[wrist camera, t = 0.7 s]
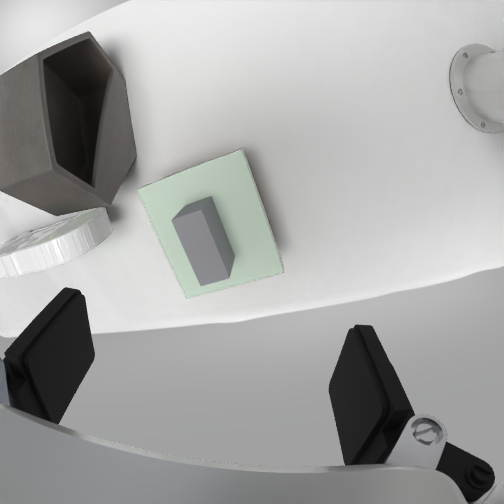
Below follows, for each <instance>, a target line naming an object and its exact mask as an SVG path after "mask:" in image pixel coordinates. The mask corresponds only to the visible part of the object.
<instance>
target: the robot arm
mask: <svg viewBox="0 0 504 504" xmlns="http://www.w3.org/2000/svg"><path fill="white" fill-rule="evenodd" d="M450 82H451V89H452V93H453V97H454V99H455V102H456V104H457V106H458V108H459V110H460V112H461V113H462V115H463V116H464V118H465V119H466V120H467V121H468V122H469V123H470V124H471V125H472V126H474V127H475V128H477V129H479V130H481V131H483V132H488V133H499V132H502V131H504V51H500V52H495V51H494V50H492V49H491V48H489V47H486V46H484V45H477V44H475V45H470V46H467V47H464V48H463V49H461V50H460V51H459V52H458V53H457V54H456V55H455V57H454V59H453V62H452V65H451V70H450ZM4 354H5V356H6V357H5V358H4V359H3V360H2V359H1V358H0V504H504V486H503V485H502V484H501V483H500V482H499V483H498V484H497V485H496V484H495V483H494V480H495V476H494V472H493V469H492V468H491V467H490V465H489V464H488V463H486V462H485V461H483V460H481V459H479V458H477V457H475V456H473V455H471V454H470V453H468V452H466V451H464V450H462V449H460V448H458V447H456V446H454V445H452V444H450V443H448V442H446V440H447V431H446V428H445V426H444V425H443V423H442V422H441V421H440V420H438V419H436V418H435V417H434V416H431V415H428V414H419V415H415V414H414V411H413V409H412V407H411V405H410V402H409V400H408V398H407V396H406V393H405V391H404V389H403V387H402V385H401V382H400V380H399V378H398V376H397V374H396V372H395V370H394V367H393V366H392V364H391V363H390V361H389V359H388V357H387V355H386V353H385V351H384V349H383V347H382V345H381V343H380V341H379V339H378V337H377V335H376V332H375V331H374V329H373V327H372V326H371V325H355V326H354V328H351V329H349V331H348V334H347V336H346V340H345V343H344V345H343V348H342V351H341V354H340V356H339V360H338V362H337V365H336V367H335V370H334V373H333V375H332V378H331V381H330V384H329V394H330V399H331V403H332V408H333V412H334V417H335V421H336V426H337V431H338V435H339V440H340V445H341V449H342V454H343V459H344V463H345V466H315V467H314V466H300V467H299V466H297V467H296V466H263V465H247V464H236V463H225V462H216V461H208V460H201V459H194V458H187V457H181V456H175V455H169V454H164V453H159V452H154V451H149V450H145V449H140V448H136V447H131V446H127V445H124V444H120V443H116V442H112V441H108V440H104V439H101V438H97V437H94V436H91V435H87V434H84V433H81V432H78V431H75V430H72V429H69V428H66V427H63V426H60V425H58V424H59V422H60V420H61V419H62V417H63V415H64V413H65V411H66V409H67V407H68V405H69V403H70V402H71V400H72V398H73V396H74V394H75V393H76V391H77V389H78V387H79V385H80V384H81V382H82V380H83V378H84V377H85V375H86V373H87V371H88V370H89V368H90V366H91V364H92V363H93V361H94V357H95V352H94V347H93V342H92V337H91V331H90V326H89V320H88V314H87V308H86V301H85V297H84V295H82V294H81V292H80V290H77V289H72V288H67V287H65V288H64V289H62V290H61V292H60V293H59V294H58V295H57V296H56V297H55V298H54V299H53V300H52V301H51V302H50V303H49V304H48V305H47V306H46V307H45V308H44V309H43V310H42V311H41V312H40V313H39V314H38V316H37V317H36V318H35V319H34V320H33V321H32V322H31V323H30V324H29V325H28V326H27V328H26V329H25V330H24V331H23V332H22V333H21V334H20V335H19V337H18V338H17V339H16V340H15V341H14V342H13V343H12V345H11V346H10V347H9V348H8V349H7V350H6V352H5V353H4Z"/></svg>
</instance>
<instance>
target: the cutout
mask: <svg viewBox="0 0 504 504" xmlns="http://www.w3.org/2000/svg"><path fill="white" fill-rule="evenodd" d="M112 230H113V229H112V226H111V223H110V220H109V217H108V214H107V211H106V209H105V208H103V207H100V208H95V209H92V210H89V211H86V212H84V213H81V214H79V215H77V216H75V217H73V218H71V219H68V220H64V221H60V222H58V223H55V224H52V225H50V226H47V227H45V228H42V229H38V230H36V231H33V232H31V231H28V232H25V233H23V234H20V235H18V236H16V237H14V238H12V239H10V240H8V241H6V242H4V243H3V244H1V245H0V278H2V277H5V276H8V277H15V276H18V275H21V274H25V273H31V272H36V271H41V270H46V269H49V268H52V267H55V266H58V265H61V264H63V263H66V262H68V261H70V260H73V259H75V258H77V257H79V256H81V255H83V254H85V253H86V252H88V251H90V250H91V249H93V248H94V247H96V246H97V245H99V244H100V243H101V242H103V241H104V240H105V239H106V238H107V237H108V236H109V235H110V234H111V232H112Z"/></svg>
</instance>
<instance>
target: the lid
mask: <svg viewBox="0 0 504 504" xmlns="http://www.w3.org/2000/svg"><path fill="white" fill-rule="evenodd" d="M137 191H138V194H139V196H140V199H141V201H142V203H143V206H144V208H145V210H146V213H147V215H148V217H149V220H150V222H151V224H152V226H153V229H154V231H155V233H156V235H157V238H158V240H159V242H160V244H161V246H162V249H163V251H164V253H165V255H166V257H167V259H168V262H169V264H170V266H171V268H172V270H173V272H174V274H175V276H176V278H177V280H178V283H179V285H180V287H181V289H182V291H183V293H184V295H185V297H186V299H188V298H192V297H196V296H200V295H203V294H207V293H211V292H215V291H218V290H222V289H226V288H229V287H233V286H237V285H240V284H244V283H248V282H251V281H255V280H259V279H262V278H266V277H269V276H273V275H276V274H280V273H283V272H284V267H283V262H282V259H281V256H280V253H279V250H278V247H277V244H276V241H275V238H274V235H273V232H272V229H271V227H270V224H269V221H268V218H267V215H266V212H265V209H264V206H263V203H262V201H261V198H260V195H259V192H258V189H257V186H256V183H255V181H254V178H253V175H252V172H251V169H250V166H249V164H248V161H247V158H246V155H245V152H244V150H243V148H242V149H239V150H237V151H235V152H232V153H229V154H226V155H224V156H221V157H218V158H215V159H213V160H210V161H207V162H204V163H202V164H199V165H196V166H194V167H191V168H188V169H186V170H183V171H181V172H178V173H176V174H173V175H171V176H168V177H166V178H163V179H161V180H158V181H156V182H154V183H151V184H149V185H148V184H147V185H145V186H143V187H141V188H139V189H138V190H137Z"/></svg>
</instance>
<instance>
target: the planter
mask: <svg viewBox="0 0 504 504" xmlns="http://www.w3.org/2000/svg"><path fill="white" fill-rule="evenodd" d="M135 158H136V148H135V143H134V137H133V131H132V125H131V118H130V112H129V105H128V98H127V91H126V84H125V80H124V78H123V77H122V75H121V74H120V73H119V71H118V70H117V69H116V67H115V66H114V64H113V63H112V62H111V60H110V59H109V57H108V56H107V55H106V53H105V52H104V51H103V49H102V48H101V46H100V45H99V44H98V42H97V41H96V40H95V38H94V37H93V35H92V34H91V33H90V32H89V31H88V32H85V33H83V34H80V35H78V36H75V37H73V38H70V39H68V40H65V41H63V42H61V43H58V44H56V45H54V46H52V47H50V48H47V49H45V50H43V51H41V52H39V53H37V54H35V55H33V56H32V57H30V58H28V59H26V60H25V61H23V62H21V63H20V64H18V65H16V66H15V67H13V68H11V69H10V70H8V71H7V72H5V73H3V74H2V75H0V191H1V192H4V193H6V194H8V195H10V196H12V197H15V198H17V199H19V200H21V201H23V202H26V203H28V204H30V205H32V206H34V207H37V208H39V209H41V210H44V211H46V212H48V213H50V214H53V215H55V216H59V215H64V214H69V213H73V212H78V211H83V210H88V209H93V208H98V207H103V206H108V205H111V203H112V201H113V199H114V197H115V195H116V193H117V191H118V189H119V187H120V185H121V183H122V182H123V180H124V178H125V176H126V174H127V172H128V170H129V169H130V167H131V165H132V163H133V161H134V159H135Z"/></svg>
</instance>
